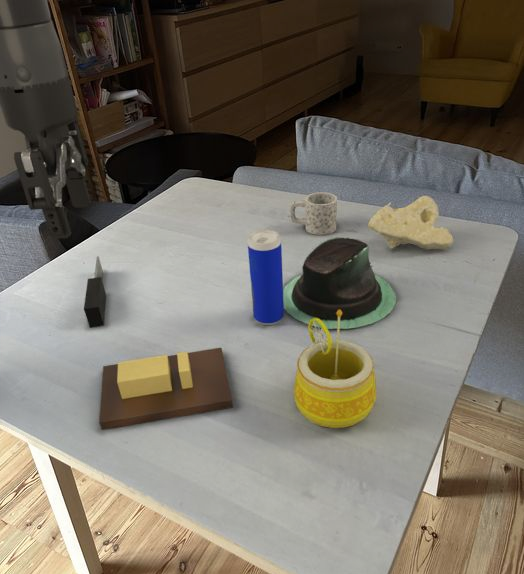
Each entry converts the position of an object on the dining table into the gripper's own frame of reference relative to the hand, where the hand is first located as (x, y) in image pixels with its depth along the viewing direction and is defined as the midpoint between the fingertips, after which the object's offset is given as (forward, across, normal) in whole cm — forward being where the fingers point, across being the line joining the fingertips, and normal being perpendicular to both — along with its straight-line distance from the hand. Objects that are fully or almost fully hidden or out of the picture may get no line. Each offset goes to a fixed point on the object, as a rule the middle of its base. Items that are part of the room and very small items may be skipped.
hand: (72, 221), depth 65 cm
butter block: (+24, +4, +6) cm, 25 cm away
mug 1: (+25, -48, +32) cm, 63 cm away
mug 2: (+25, +7, +32) cm, 41 cm away
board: (+25, +3, +8) cm, 27 cm away
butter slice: (+24, +3, +11) cm, 26 cm away
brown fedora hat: (+25, -20, +35) cm, 47 cm away
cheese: (+25, -36, +50) cm, 66 cm away
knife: (+25, -23, -9) cm, 35 cm away
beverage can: (+25, -14, +23) cm, 37 cm away
